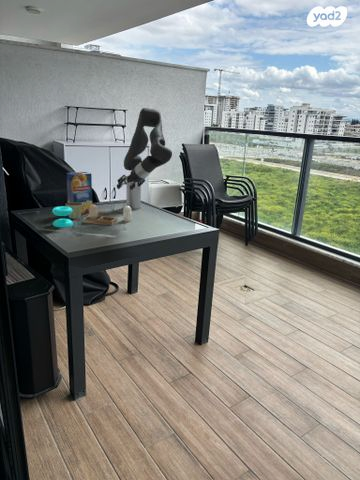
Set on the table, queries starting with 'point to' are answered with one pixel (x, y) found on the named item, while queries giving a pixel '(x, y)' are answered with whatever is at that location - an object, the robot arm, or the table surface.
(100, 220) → the egg holder
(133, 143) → the robot arm
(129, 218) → the cream egg
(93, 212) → the brown egg
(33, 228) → the table surface
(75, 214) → the flower pot
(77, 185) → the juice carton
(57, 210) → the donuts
